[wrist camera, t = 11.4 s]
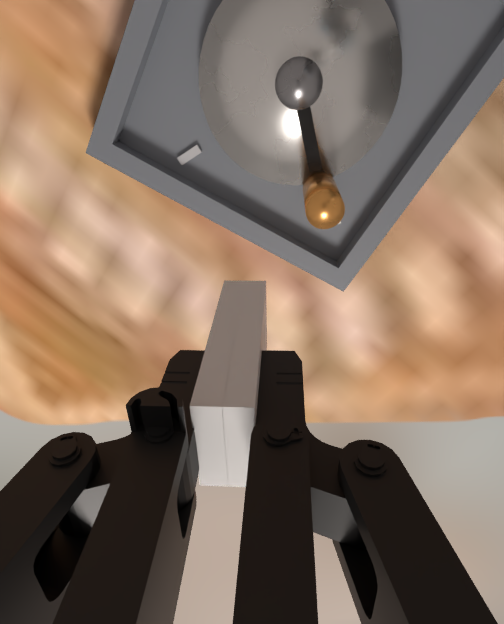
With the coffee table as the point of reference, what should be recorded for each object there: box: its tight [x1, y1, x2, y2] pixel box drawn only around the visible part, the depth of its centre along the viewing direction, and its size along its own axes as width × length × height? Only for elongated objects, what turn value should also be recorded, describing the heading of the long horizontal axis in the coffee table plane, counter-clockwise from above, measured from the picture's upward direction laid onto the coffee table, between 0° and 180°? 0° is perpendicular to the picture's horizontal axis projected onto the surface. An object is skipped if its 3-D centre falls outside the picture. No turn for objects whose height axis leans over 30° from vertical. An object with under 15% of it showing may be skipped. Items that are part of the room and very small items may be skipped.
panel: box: [86, 0, 504, 292], centre depth 29 cm, size 22×22×3 cm
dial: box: [199, 0, 402, 229], centre depth 26 cm, size 14×13×6 cm
